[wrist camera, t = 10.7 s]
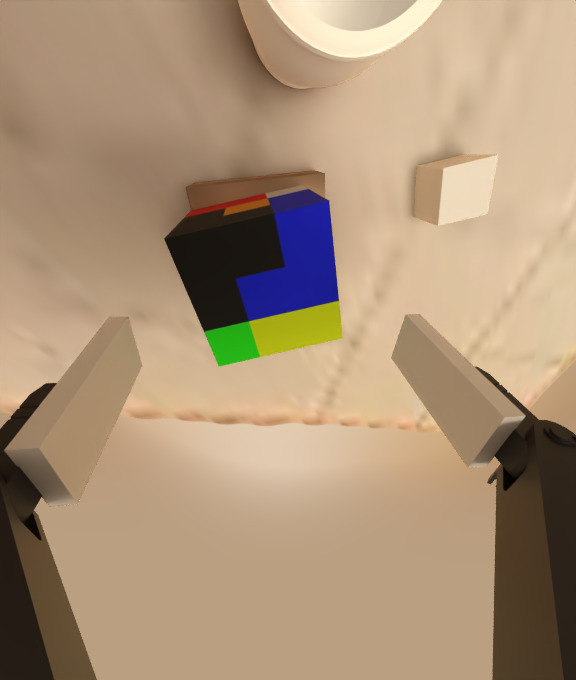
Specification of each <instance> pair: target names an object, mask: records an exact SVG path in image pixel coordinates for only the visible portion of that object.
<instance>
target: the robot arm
mask: <svg viewBox="0 0 576 680" xmlns="http://www.w3.org/2000/svg"><path fill="white" fill-rule="evenodd" d="M391 358H392V360H393V361H394V362H395V364H396V365H397V367H398V368H399V370H400V371H401V373H402V374H403V375H404V377H405V378H406V380H407V381H408V383H409V384H410V385H411V387H412V388H413V390H414V391H415V393H416V394H417V395H418V397H419V398H420V400H421V401H422V403H423V404H424V406H425V407H426V408H427V410H428V411H429V413H430V414H431V416H432V417H433V418H434V420H435V421H436V423H437V424H438V426H439V427H440V428H441V430H442V431H443V433H444V434H445V436H446V437H447V438H448V440H449V441H450V443H451V444H452V446H453V447H454V449H455V450H456V451H457V453H458V454H459V456H460V457H461V459H462V460H463V462H464V463H465V464H466V466H467V467H468V468H474V467H484V466H487V465H488V464H489V462H490V461H491V460H492V459H493V457H494V456H495V457H496V458H497V459H498V461H499V462H500V463H501V464H500V465H499V467H498V468H497V469H496V470H495V472H494V473H493V474H492V475H491V476H490V478H489V479H488V483H489V484H491V483H492V482H493V481H494V480H495V479H497V485H496V490H497V491H496V535H495V586H494V633H493V680H576V435H575V434H574V433H573V432H571V431H570V430H568V429H567V428H565V427H563V426H561V425H559V424H557V423H554V422H551V421H548V420H538V419H537V418H536V417H535V416H534V415H533V414H532V413H531V412H530V411H529V410H528V409H527V408H526V407H524V406H523V405H522V404H521V403H520V402H519V401H518V400H517V399H516V398H515V397H514V396H513V395H511V394H510V393H508V392H507V390H506V389H505V388H504V387H503V386H502V385H499V382H497V381H496V380H495V379H494V378H493V377H492V376H491V375H490V374H488V373H487V372H485V371H483V370H482V369H480V368H478V367H474V366H473V365H472V364H471V363H470V362H469V361H468V360H467V359H466V358H465V357H464V356H463V355H462V354H461V353H460V352H458V351H457V350H456V349H455V348H454V347H453V346H452V345H451V344H450V343H449V342H448V341H447V340H446V339H445V338H444V337H443V336H442V335H441V334H440V333H439V332H438V331H437V330H435V329H434V328H433V327H432V326H431V325H430V324H429V323H428V322H427V321H426V320H425V319H424V318H423V317H422V316H421V315H420V314H409V315H405V318H404V321H403V324H402V327H401V330H400V333H399V336H398V339H397V342H396V345H395V348H394V351H393V354H392V357H391ZM141 367H142V363H141V360H140V356H139V353H138V349H137V346H136V342H135V339H134V335H133V332H132V328H131V325H130V321H129V318H128V317H109V318H108V319H107V321H106V322H105V323H104V324H103V326H102V327H101V328H100V329H99V331H98V332H97V333H96V335H95V336H94V337H93V338H92V340H91V341H90V342H89V343H88V345H87V346H86V347H85V348H84V350H83V351H82V352H81V354H80V355H79V356H78V357H77V359H76V360H75V361H74V362H73V364H72V365H71V366H70V367H69V369H68V370H67V371H66V373H65V374H64V375H63V376H62V378H61V379H60V380H59V381H58V383H46V384H44V385H43V386H42V387H40V388H39V389H37V390H36V391H34V392H33V393H31V394H30V395H29V396H28V398H27V399H26V400H25V401H24V402H23V403H22V404H21V406H20V409H17V410H16V411H15V413H14V414H13V415H12V416H11V419H10V420H8V421H7V422H6V423H5V424H4V425H3V426H2V428H1V429H0V680H97V679H96V676H95V673H94V671H93V668H92V665H91V662H90V660H89V657H88V654H87V651H86V648H85V645H84V643H83V640H82V637H81V634H80V631H79V629H78V626H77V623H76V620H75V617H74V615H73V612H72V609H71V606H70V604H69V601H68V598H67V595H66V592H65V590H64V587H63V584H62V581H61V578H60V575H59V573H58V570H57V567H56V564H55V561H54V559H53V556H52V553H51V550H50V547H49V545H48V542H47V539H46V536H45V533H44V530H43V528H42V525H41V522H40V519H39V516H38V515H37V513H36V512H35V511H34V509H35V507H36V505H37V504H38V502H39V500H40V498H41V497H42V498H43V499H44V500H45V502H46V503H47V504H48V505H49V506H50V507H52V506H63V505H74V504H78V502H79V500H80V498H81V496H82V494H83V492H84V489H85V487H86V485H87V483H88V481H89V479H90V476H91V475H92V472H93V470H94V468H95V466H96V464H97V462H98V459H99V457H100V455H101V453H102V451H103V448H104V447H105V444H106V442H107V440H108V438H109V436H110V434H111V431H112V429H113V427H114V425H115V423H116V421H117V419H118V416H119V414H120V412H121V410H122V408H123V406H124V404H125V401H126V399H127V397H128V395H129V393H130V391H131V388H132V386H133V384H134V382H135V380H136V378H137V376H138V373H139V371H140V369H141Z"/></svg>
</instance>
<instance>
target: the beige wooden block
mask: <svg viewBox="0 0 576 680" xmlns="http://www.w3.org/2000/svg"><path fill="white" fill-rule="evenodd" d="M497 161H498V155H459V156H455V157H451V158H447V159H443V160H439V161H435V162H431V163H427V164H422V165H418V166H416V181H415V201H414V217H416V218H419V219H421V220H424V221H427V222H429V223H432V224H434V225H437V226H440V225H444V224H448V223H452V222H456V221H460V220H465V219H469V218H473V217H477V216H481V215H485V214H488V209H489V203H490V198H491V193H492V187H493V182H494V177H495V171H496V166H497Z"/></svg>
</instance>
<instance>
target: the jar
mask: <svg viewBox="0 0 576 680" xmlns="http://www.w3.org/2000/svg"><path fill="white" fill-rule="evenodd" d="M441 2H442V0H238V3H239V6H240V10H241V13H242V16H243V18H244V21H245V24H246V26H247V28H248V31H249V33H250V35H251V37H252V40H253V44H254V46H255V49H256V51H257V54H258V56H259V58H260V59H261V61H262V63H263V64H264V66H265V67H266V69H267V70H268V71H269V72H270V73H271V75H272V76H274V77H275V78H276V79H277V80H278V81H280V82H281V83H283V84H285V85H287V86H289V87H292V88H297V89H307V88H325V87H331V86H335V85H339V84H341V83H344V82H346V81H349V80H351V79H352V78H354V77H356V76H358V75H359V74H361V73H362V72H364V71H365V70H366V69H368V68H369V67H370V66H371V65H373V64H374V63H375V62H376V61H377V60H378V59H379V58H380V57H381V56H382V55H383V54H385V53H387V52H389V51H391V50H393V49H394V48H396V47H397V46H399V45H400V44H402V43H403V42H404V41H406V40H407V39H408V38H409V37H410V36H411V35H413V34H414V33H415V32H416V31H417V30H418V29H419V28H420V27H421V26H422V25H423V24H424V22H425V21H426V20H427V19H428V18H429V17H430V16H431V14H432V13H433V12H434V11H435V10H436V8H437V7H438V6H439V4H440V3H441Z"/></svg>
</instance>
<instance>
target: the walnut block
mask: <svg viewBox="0 0 576 680" xmlns="http://www.w3.org/2000/svg"><path fill="white" fill-rule="evenodd" d="M299 185H303V186H305V187H306V188H308V189H310V190H311V191H313V192H315V193H317V194H318V195H320V196H322V197H324V198H325V173H322V172H318V171H306V172H296V173H286V174H277V175H267V176H257V177H248V178H238V179H228V180H219V181H209V182H199V183H193V184H192V185H190V186H188V187H186V190H187V194H188V198H189V202H190V206H191V210H196V209H200V208H204V207H209V206H213V205H217V204H222V203H226V202H230V201H234V200H239V199H243V198H247V197H252V196H256V195H260V194H265V193H269V192H273V191H278V190H282V189H286V188H291V187H295V186H299Z"/></svg>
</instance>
